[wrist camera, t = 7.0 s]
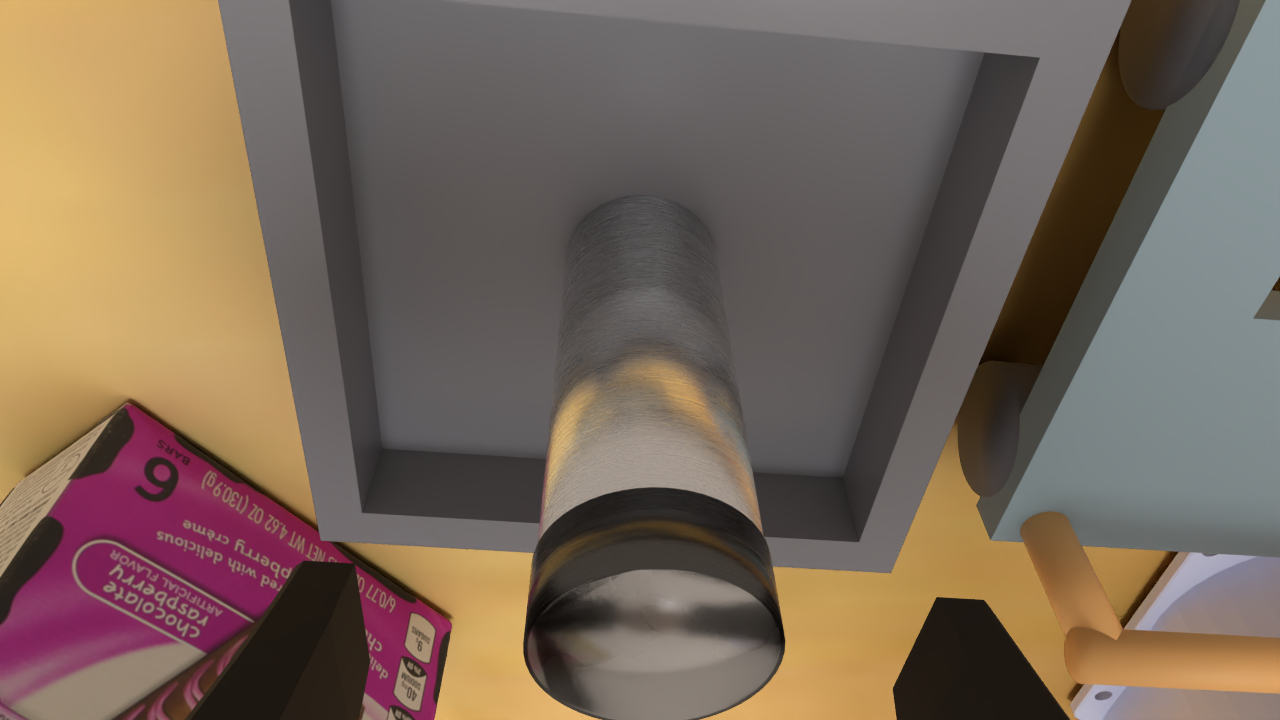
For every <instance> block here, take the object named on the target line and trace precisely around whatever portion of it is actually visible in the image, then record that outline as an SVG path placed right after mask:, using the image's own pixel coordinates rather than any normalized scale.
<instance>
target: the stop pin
mask: <svg viewBox="0 0 1280 720" xmlns="http://www.w3.org/2000/svg"><path fill="white" fill-rule="evenodd" d="M523 648H524V658H525V663H526V665H527V668H528V670H529V672H530V674H531V676H532V677H533V679H534V680H535V681H536V683H537V684H538V685H539V686H540V687H541V688H542V689H543V690H544V691H545V692H546V693H547V694H549V695H550V696H551V697H552V698H554V699H555V700H557V701H558V702H560V703H562V704H563V705H565V706H567V707H569V708H571V709H573V710H575V711H577V712H580V713H583V714H585V715H588V716H591V717H594V718H598V719H602V720H699V719H703V718H706V717H710V716H713V715H716V714H719V713H721V712H724V711H727V710H729V709H731V708H733V707H735V706H737V705H739V704H741V703H743V702H744V701H746V700H748V699H749V698H751V697H752V696H753V695H755V694H756V693H757V692H759V691H760V690H761V689H762V688H763V687H764V686H765V685H766V684H767V683H768V682H769V681H770V680H771V679H772V677H773V676H774V674H775V673H776V672H777V670H778V668H779V666H780V664H781V662H782V659H783V655H784V651H785V637H784V630H783V624H782V618H781V613H780V607H779V601H778V595H777V589H776V583H775V578H774V572H773V566H772V560H771V554H770V550H769V547H768V544H767V542H766V540H765V538H764V536H763V530H762V524H761V518H760V512H759V506H758V501H757V495H756V489H755V483H754V477H753V471H752V465H751V459H750V453H749V447H748V441H747V435H746V429H745V423H744V417H743V411H742V405H741V399H740V393H739V387H738V381H737V375H736V369H735V363H734V357H733V351H732V345H731V339H730V333H729V327H728V321H727V315H726V309H725V303H724V297H723V291H722V285H721V279H720V273H719V267H718V261H717V255H716V249H715V245H714V242H713V238H712V236H711V234H710V232H709V230H708V229H707V227H706V226H705V224H704V223H703V222H702V221H701V220H700V219H699V217H698V216H697V215H695V214H694V213H693V212H692V211H690V210H689V209H688V208H686V207H684V206H683V205H681V204H679V203H677V202H674V201H672V200H669V199H666V198H663V197H657V196H650V195H634V196H627V197H621V198H618V199H615V200H612V201H609V202H607V203H605V204H603V205H601V206H599V207H598V208H596V209H594V210H593V211H592V212H591V213H589V214H588V215H587V216H586V217H585V218H584V219H583V220H582V221H581V222H580V223H579V225H578V226H577V228H576V229H575V230H574V232H573V234H572V236H571V238H570V241H569V244H568V247H567V253H566V261H565V271H564V281H563V291H562V301H561V312H560V322H559V332H558V342H557V352H556V362H555V372H554V383H553V393H552V403H551V413H550V423H549V433H548V443H547V454H546V464H545V474H544V484H543V494H542V504H541V514H540V524H539V535H538V544H537V546H536V549H535V551H534V555H533V559H532V565H531V575H530V585H529V595H528V604H527V614H526V624H525V633H524V643H523Z"/></svg>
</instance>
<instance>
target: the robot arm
mask: <svg viewBox="0 0 1280 720" xmlns="http://www.w3.org/2000/svg"><path fill="white" fill-rule="evenodd" d="M1124 629H1128V630H1147V631H1165V632H1184V633H1203V634H1221V635H1240V636H1258V637H1277V638H1280V558H1278V557H1261V556H1244V555H1227V554H1211V553H1194V552H1178V554H1177V555H1176V556H1175V558H1174V559H1173V561H1172V562H1171V563H1170V565H1169V566H1168V568H1167V569H1166V570H1165V572H1164V573H1163V575H1162V576H1161V577H1160V579H1159V580H1158V582H1157V583H1156V584H1155V586H1154V587H1153V589H1152V590H1151V591H1150V593H1149V594H1148V596H1147V597H1146V598H1145V600H1144V601H1143V603H1142V604H1141V605H1140V607H1139V608H1138V610H1137V611H1136V612H1135V614H1134V615H1133V617H1132V618H1131V619H1130V621H1129V622H1128V624H1127V625H1126V626H1125V628H1124ZM369 666H370V656H369V649H368V643H367V637H366V630H365V624H364V617H363V611H362V605H361V598H360V592H359V586H358V579H357V573H356V566H355V563H339V562H322V561H305V560H304V561H302V562H301V563H299V564H298V565H296V566H295V568H294V569H293V571H292V572H291V574H290V576H289V577H288V579H287V580H286V582H285V583H284V585H283V586H282V588H281V589H280V591H279V592H278V594H277V595H276V597H275V598H274V600H273V601H272V603H271V604H270V606H269V607H268V608H267V610H266V611H265V613H264V614H263V616H262V617H261V619H260V620H259V621H258V623H257V624H256V626H255V627H254V628H253V630H252V631H251V633H250V634H249V636H248V637H247V638H246V640H245V641H244V642H243V644H242V645H241V646H240V648H239V649H238V651H237V652H236V653H235V655H234V656H233V657H232V659H231V660H230V662H229V663H228V664H227V666H226V667H225V668H224V670H223V671H222V672H221V674H220V675H219V676H218V677H217V679H216V680H215V681H214V683H213V684H212V685H211V686H210V688H209V689H208V690H207V692H206V693H205V694H204V695H203V697H202V698H201V699H200V701H199V702H198V703H197V704H196V706H195V707H194V708H193V710H192V711H191V712H190V713H189V715H188V716H187V717H186V719H185V720H359V717H360V712H361V707H362V702H363V697H364V692H365V687H366V682H367V677H368V671H369ZM893 694H894V701H895V709H896V717H897V720H1070V719H1069V717H1068V716H1067V715H1066V713H1065V712H1064V711H1063V709H1062V708H1061V706H1060V705H1059V704H1058V702H1057V701H1056V700H1055V698H1054V697H1053V695H1052V694H1051V693H1050V691H1049V690H1048V688H1047V687H1046V686H1045V684H1044V683H1043V682H1042V680H1041V679H1040V677H1039V676H1038V675H1037V673H1036V672H1035V670H1034V669H1033V668H1032V666H1031V665H1030V663H1029V662H1028V660H1027V659H1026V658H1025V656H1024V655H1023V653H1022V652H1021V651H1020V649H1019V648H1018V646H1017V645H1016V644H1015V642H1014V641H1013V639H1012V638H1011V636H1010V635H1009V634H1008V632H1007V631H1006V629H1005V628H1004V627H1003V625H1002V624H1001V622H1000V621H999V619H998V618H997V617H996V615H995V614H994V613H993V611H992V610H991V608H990V607H989V606H988V604H987V603H986V602H985V601H984V600H975V599H958V598H941V597H937V598H936V600H935V602H934V604H933V606H932V608H931V610H930V612H929V614H928V616H927V618H926V621H925V623H924V625H923V627H922V629H921V631H920V633H919V635H918V637H917V639H916V641H915V643H914V646H913V648H912V650H911V652H910V654H909V656H908V658H907V660H906V662H905V664H904V666H903V668H902V670H901V673H900V675H899V677H898V679H897V681H896V683H895V685H894V687H893ZM1070 706H1071V709H1072V711H1073V714H1074V716H1075V717H1076V718H1078V719H1080V720H1280V694H1276V693H1256V692H1236V691H1216V690H1196V689H1176V688H1156V687H1135V686H1115V685H1095V684H1084V685H1083V686H1082V688H1081V689H1080V691H1079V692H1078V693H1077V695H1076V696H1075V698H1074V699H1073V700H1072V702H1071V704H1070Z"/></svg>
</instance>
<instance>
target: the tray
mask: <svg viewBox="0 0 1280 720" xmlns="http://www.w3.org/2000/svg"><path fill="white" fill-rule="evenodd" d="M218 2H219V7H220V13H221V18H222V23H223V28H224V34H225V39H226V44H227V49H228V55H229V60H230V65H231V71H232V76H233V81H234V86H235V92H236V97H237V102H238V107H239V113H240V118H241V123H242V128H243V134H244V139H245V144H246V150H247V155H248V160H249V165H250V171H251V176H252V181H253V186H254V192H255V197H256V202H257V208H258V213H259V218H260V223H261V229H262V234H263V239H264V244H265V250H266V255H267V260H268V265H269V271H270V276H271V281H272V287H273V292H274V297H275V302H276V308H277V313H278V318H279V323H280V329H281V334H282V339H283V344H284V350H285V355H286V360H287V366H288V371H289V376H290V381H291V387H292V392H293V397H294V402H295V408H296V413H297V418H298V423H299V429H300V434H301V439H302V445H303V450H304V455H305V460H306V466H307V471H308V476H309V481H310V487H311V492H312V497H313V503H314V508H315V513H316V518H317V524H318V529H319V534H320V539H321V541H336V542H353V543H371V544H388V545H406V546H424V547H441V548H459V549H476V550H494V551H511V552H529V553H534V551H535V549H536V546H537V544H538V535H539V524H540V514H541V504H542V494H543V484H544V474H545V464H546V454H547V443H548V433H549V423H550V413H551V403H552V393H553V383H554V372H555V362H556V352H557V342H558V332H559V322H560V312H561V301H562V291H563V281H564V271H565V261H566V253H567V247H568V244H569V241H570V238H571V236H572V234H573V232H574V230H575V229H576V228H577V226H578V225H579V223H580V222H581V221H582V220H583V219H584V218H585V217H586V216H587V215H588V214H589V213H591V212H592V211H593V210H594V209H596V208H598V207H599V206H601V205H603V204H605V203H607V202H609V201H612V200H615V199H618V198H621V197H627V196H634V195H650V196H657V197H663V198H666V199H669V200H672V201H674V202H677V203H679V204H681V205H683V206H684V207H686V208H688V209H689V210H690V211H692V212H693V213H694V214H695V215H697V216H698V217H699V219H700V220H701V221H702V222H703V223H704V224H705V226H706V227H707V229H708V230H709V232H710V234H711V236H712V238H713V242H714V245H715V249H716V255H717V261H718V267H719V273H720V279H721V285H722V291H723V297H724V303H725V309H726V315H727V321H728V327H729V333H730V339H731V345H732V351H733V357H734V363H735V369H736V375H737V381H738V387H739V393H740V399H741V405H742V411H743V417H744V423H745V429H746V435H747V441H748V447H749V453H750V459H751V465H752V471H753V477H754V483H755V489H756V495H757V501H758V506H759V512H760V518H761V524H762V530H763V536H764V538H765V540H766V542H767V544H768V547H769V550H770V554H771V560H772V566H774V567H792V568H809V569H827V570H844V571H862V572H879V573H891V571H892V569H893V567H894V564H895V562H896V560H897V557H898V555H899V552H900V550H901V548H902V545H903V543H904V541H905V538H906V536H907V533H908V531H909V529H910V526H911V524H912V521H913V519H914V517H915V514H916V512H917V510H918V507H919V505H920V502H921V500H922V498H923V495H924V493H925V491H926V488H927V486H928V483H929V481H930V479H931V476H932V474H933V472H934V469H935V467H936V464H937V462H938V460H939V457H940V455H941V452H942V450H943V448H944V445H945V443H946V441H947V438H948V436H949V433H950V431H951V429H952V426H953V424H954V422H955V419H956V417H957V414H958V412H959V410H960V407H961V405H962V403H963V400H964V398H965V395H966V393H967V391H968V388H969V386H970V383H971V381H972V379H973V376H974V374H975V372H976V369H977V367H978V364H979V362H980V360H981V357H982V355H983V353H984V350H985V348H986V345H987V343H988V341H989V338H990V336H991V334H992V331H993V329H994V326H995V324H996V322H997V319H998V317H999V314H1000V312H1001V310H1002V307H1003V305H1004V303H1005V300H1006V298H1007V295H1008V293H1009V291H1010V288H1011V286H1012V284H1013V281H1014V279H1015V276H1016V274H1017V272H1018V269H1019V267H1020V265H1021V262H1022V260H1023V257H1024V255H1025V253H1026V250H1027V248H1028V245H1029V243H1030V241H1031V238H1032V236H1033V234H1034V231H1035V229H1036V226H1037V224H1038V222H1039V219H1040V217H1041V215H1042V212H1043V210H1044V207H1045V205H1046V203H1047V200H1048V198H1049V196H1050V193H1051V191H1052V188H1053V186H1054V184H1055V181H1056V179H1057V176H1058V174H1059V172H1060V169H1061V167H1062V165H1063V162H1064V160H1065V157H1066V155H1067V153H1068V150H1069V148H1070V146H1071V143H1072V141H1073V138H1074V136H1075V134H1076V131H1077V129H1078V127H1079V124H1080V122H1081V119H1082V117H1083V115H1084V112H1085V110H1086V107H1087V105H1088V103H1089V100H1090V98H1091V96H1092V93H1093V91H1094V88H1095V86H1096V84H1097V81H1098V79H1099V77H1100V74H1101V72H1102V69H1103V67H1104V65H1105V62H1106V60H1107V58H1108V55H1109V53H1110V50H1111V48H1112V46H1113V43H1114V41H1115V38H1116V36H1117V34H1118V31H1119V29H1120V27H1121V24H1122V22H1123V19H1124V17H1125V15H1126V12H1127V10H1128V8H1129V5H1130V3H1131V0H218Z"/></svg>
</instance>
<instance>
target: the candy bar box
mask: <svg viewBox="0 0 1280 720" xmlns="http://www.w3.org/2000/svg"><path fill="white" fill-rule="evenodd" d="M304 560H305V561H322V562H339V563H355V566H356V573H357V579H358V586H359V592H360V598H361V605H362V611H363V617H364V624H365V630H366V637H367V643H368V649H369V656H370V666H369V671H368V677H367V682H366V687H365V692H364V697H363V702H362V707H361V712H360V717H359V720H434V718H435V714H436V708H437V702H438V697H439V693H440V687H441V682H442V676H443V671H444V666H445V661H446V657H447V650H448V645H449V640H450V633H451V629H452V624H451V622H450V621H449V620H448V619H446V618H445V617H443V616H442V615H440V614H439V613H437V612H436V611H434V610H433V609H431V608H430V607H429V606H427V605H426V604H424V603H423V602H421V601H420V600H418V599H417V598H415V597H414V596H412V595H410V594H408V593H407V592H406V591H404V590H403V589H401V588H400V587H399V586H397V585H396V584H394V583H393V582H391V581H390V580H388V579H387V578H385V577H384V576H382V575H381V574H379V573H378V572H376V571H375V570H373V569H372V568H371V567H369V566H368V565H366V564H365V563H363V562H362V561H361V560H359V559H358V558H356V557H354V556H353V555H351V554H350V553H349V552H347V551H346V550H344V549H343V548H341V547H340V546H338V545H337V544H335V543H334V542H332V541H321V539H320V534H319V532H318V531H316V530H315V529H314V528H312V527H311V526H309V525H308V524H306V523H305V522H303V521H302V520H300V519H299V518H297V517H296V516H294V515H293V514H291V513H290V512H288V511H287V510H286V509H284V508H283V507H281V506H280V505H278V504H277V503H275V502H274V501H272V500H271V499H269V498H268V497H266V496H265V495H263V494H262V493H260V492H259V491H257V490H256V489H254V488H253V487H252V486H250V485H249V484H247V483H246V482H244V481H243V480H242V479H240V478H239V477H237V476H236V475H235V474H233V473H232V472H230V471H229V470H227V469H226V468H224V467H223V466H221V465H220V464H218V463H217V462H216V461H214V460H213V459H211V458H210V457H208V456H207V455H205V454H204V453H202V452H201V451H199V450H198V449H196V448H195V447H194V446H192V445H191V444H189V443H188V442H187V441H185V440H184V439H182V438H181V437H179V436H178V435H176V434H175V433H173V432H172V431H171V430H169V429H168V428H166V427H165V426H163V425H162V424H160V423H159V422H157V421H156V420H154V419H153V418H151V417H150V416H149V415H147V414H146V413H144V412H143V411H141V410H140V409H139V408H137V407H136V406H134V405H132V404H130V403H128V402H127V403H125V404H123V405H122V406H121V407H119V408H118V409H117V410H115V411H114V412H112V413H111V414H110V415H108V416H106V417H105V418H104V419H103V420H101V421H100V422H99V423H98V424H97V425H96V426H95V427H94V428H93V429H92V430H91V431H90V432H89V433H87V434H86V435H85V436H83V437H82V438H80V439H79V440H78V441H76V442H75V443H73V444H72V445H71V446H70V447H68V448H66V449H65V450H63V451H62V452H61V453H59V454H58V455H56V456H55V457H54V458H52V459H51V460H50V461H48V462H47V463H45V464H44V465H42V466H41V467H40V468H38V469H37V470H36V471H34V472H33V473H31V474H30V475H28V476H27V477H25V478H24V479H23V480H21V481H20V482H19V483H18V484H17V485H16V486H15V487H14V488H13V489H12V490H11V492H10V493H9V494H8V495H7V497H6V498H5V499H4V501H3V502H2V503H1V504H0V720H185V719H186V717H187V716H188V715H189V713H190V712H191V711H192V710H193V708H194V707H195V706H196V704H197V703H198V702H199V701H200V699H201V698H202V697H203V695H204V694H205V693H206V692H207V690H208V689H209V688H210V686H211V685H212V684H213V683H214V681H215V680H216V679H217V677H218V676H219V675H220V674H221V672H222V671H223V670H224V668H225V667H226V666H227V664H228V663H229V662H230V660H231V659H232V657H233V656H234V655H235V653H236V652H237V651H238V649H239V648H240V646H241V645H242V644H243V642H244V641H245V640H246V638H247V637H248V636H249V634H250V633H251V631H252V630H253V628H254V627H255V626H256V624H257V623H258V621H259V620H260V619H261V617H262V616H263V614H264V613H265V611H266V610H267V608H268V607H269V606H270V604H271V603H272V601H273V600H274V598H275V597H276V595H277V594H278V592H279V591H280V589H281V588H282V586H283V585H284V583H285V582H286V580H287V579H288V577H289V576H290V574H291V572H292V571H293V569H294V568H295V566H296V565H298V564H299V563H301V562H302V561H304Z"/></svg>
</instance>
